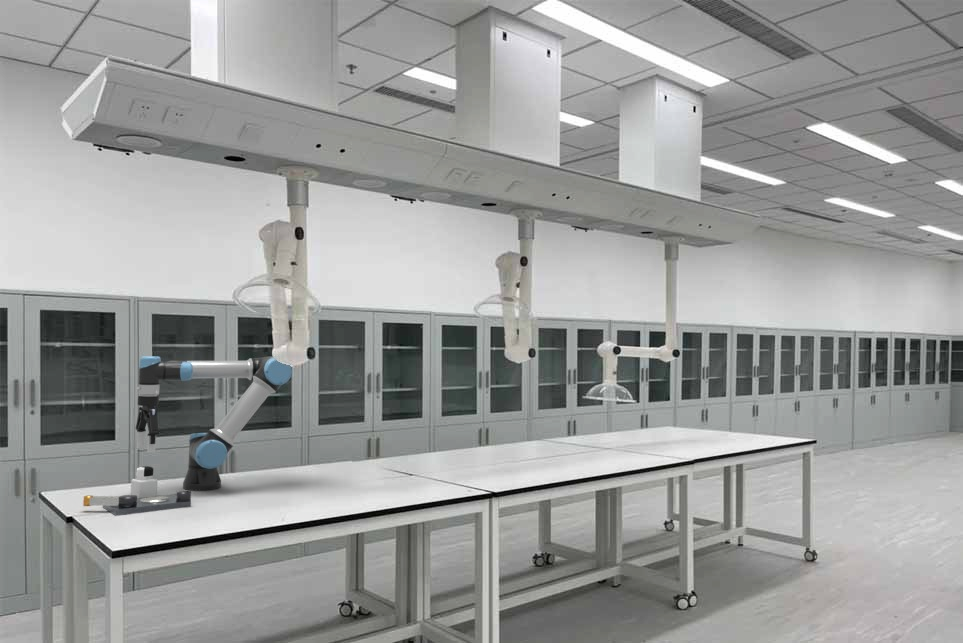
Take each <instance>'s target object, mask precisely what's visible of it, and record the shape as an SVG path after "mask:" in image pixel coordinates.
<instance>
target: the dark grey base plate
mask: <svg viewBox="0 0 963 643" xmlns="http://www.w3.org/2000/svg"><path fill="white" fill-rule="evenodd" d="M191 502H192V500H191V501H188V502H177V501H176V493H172V494H171V493H170V494H162V495H157V496H151V497H142V498H137V505H136V506H133V507H119V506H102V508H103V509H105V510H106V511H107V512H109V513H111V514H113V515H114V516H116V517H117V516H123V515H132V514H140V513H149V512H156V511H163V510H165V511H166V510H171V509H180V508H188V507H189V508H190V507H192V504H191Z"/></svg>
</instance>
